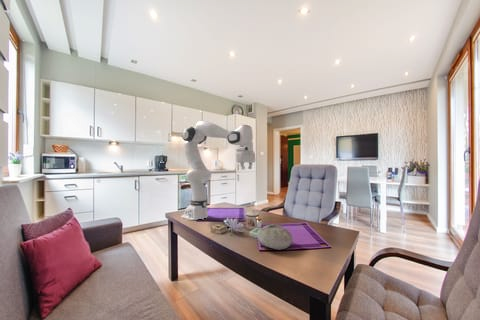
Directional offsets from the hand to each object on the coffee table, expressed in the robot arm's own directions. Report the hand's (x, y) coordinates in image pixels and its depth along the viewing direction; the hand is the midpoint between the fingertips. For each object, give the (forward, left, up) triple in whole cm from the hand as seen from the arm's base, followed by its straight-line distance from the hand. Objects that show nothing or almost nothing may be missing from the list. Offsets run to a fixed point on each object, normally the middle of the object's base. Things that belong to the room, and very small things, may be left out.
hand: (246, 169), depth 133 cm
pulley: (-11, -6, -39) cm, 41 cm away
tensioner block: (-12, -16, -39) cm, 44 cm away
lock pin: (+14, -10, -38) cm, 42 cm away
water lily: (-1, -13, -39) cm, 42 cm away
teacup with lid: (+4, +2, -39) cm, 40 cm away
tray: (+13, -10, -39) cm, 42 cm away
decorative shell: (+27, -19, -39) cm, 51 cm away
